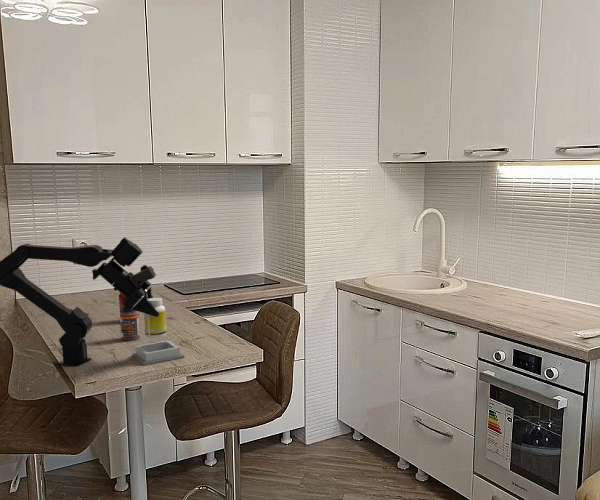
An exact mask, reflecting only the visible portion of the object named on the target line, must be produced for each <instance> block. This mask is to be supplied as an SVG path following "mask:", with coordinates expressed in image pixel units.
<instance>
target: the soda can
mask: <svg viewBox="0 0 600 500" xmlns="http://www.w3.org/2000/svg"><path fill="white" fill-rule="evenodd" d="M124 298H125V296H124V295H122V294H121V293H120V292H119V294H118V302H119V303H118V305H119V306H118V307H119V315H120V314H121V312H122V311H123V310H122V309H123V308H122V307H123V306H124V305H123V302H124V301H125V300H126V299H124ZM137 312H138V311H137ZM138 317H139V318H140V312H138Z"/></svg>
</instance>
